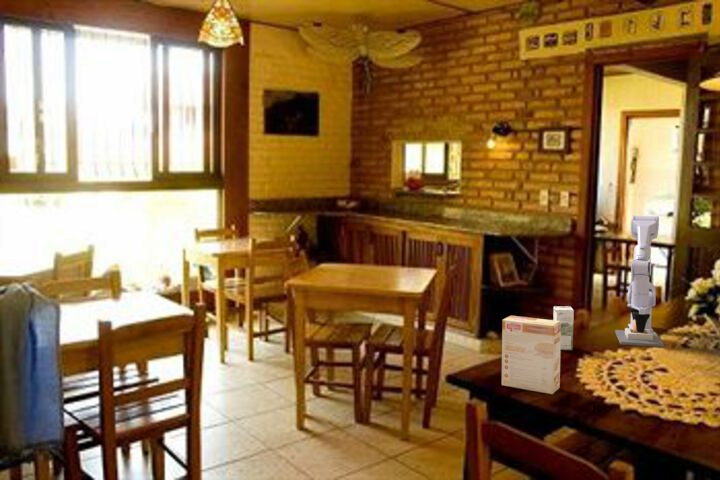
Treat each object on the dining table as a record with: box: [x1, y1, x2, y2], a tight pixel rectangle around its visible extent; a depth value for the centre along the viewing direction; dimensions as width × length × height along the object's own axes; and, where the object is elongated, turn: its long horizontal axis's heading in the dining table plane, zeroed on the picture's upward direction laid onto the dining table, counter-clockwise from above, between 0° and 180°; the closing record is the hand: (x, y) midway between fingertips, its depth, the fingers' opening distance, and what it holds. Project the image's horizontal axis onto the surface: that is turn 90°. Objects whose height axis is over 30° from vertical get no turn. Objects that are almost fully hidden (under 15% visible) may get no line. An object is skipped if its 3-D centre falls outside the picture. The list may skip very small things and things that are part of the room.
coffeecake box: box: [501, 315, 561, 395], centre depth 182 cm, size 15×7×20 cm, turn 57°
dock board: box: [614, 327, 665, 348], centre depth 233 cm, size 18×14×3 cm
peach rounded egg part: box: [633, 320, 645, 334], centre depth 233 cm, size 4×4×6 cm
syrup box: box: [552, 305, 575, 351], centre depth 222 cm, size 6×6×14 cm
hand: (638, 329), depth 233 cm, fingers open, 7 cm apart
